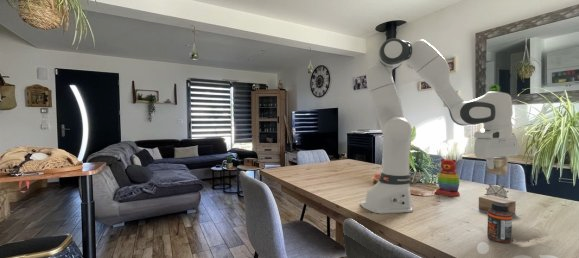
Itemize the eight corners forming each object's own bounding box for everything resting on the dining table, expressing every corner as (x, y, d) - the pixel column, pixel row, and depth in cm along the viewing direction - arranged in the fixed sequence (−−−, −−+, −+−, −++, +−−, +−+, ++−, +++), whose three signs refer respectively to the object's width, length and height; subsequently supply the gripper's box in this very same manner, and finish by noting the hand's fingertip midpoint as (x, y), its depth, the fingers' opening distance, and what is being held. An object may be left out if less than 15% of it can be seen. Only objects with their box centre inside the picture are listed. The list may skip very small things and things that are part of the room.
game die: (501, 210, 117) (517, 197, 111) (482, 203, 119) (496, 189, 113) (496, 196, 124) (510, 182, 118) (477, 189, 126) (491, 175, 120)
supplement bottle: (482, 235, 84) (482, 201, 84) (499, 234, 85) (499, 200, 85) (498, 244, 78) (499, 207, 78) (516, 243, 79) (517, 206, 79)
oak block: (499, 175, 100) (499, 159, 99) (487, 173, 104) (487, 158, 104) (507, 174, 101) (507, 158, 101) (494, 172, 105) (495, 157, 105)
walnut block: (502, 216, 98) (503, 203, 97) (478, 208, 106) (478, 196, 106) (515, 214, 100) (515, 201, 100) (490, 206, 108) (490, 195, 108)
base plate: (502, 222, 95) (502, 218, 95) (470, 211, 107) (470, 208, 107) (524, 217, 99) (524, 214, 99) (491, 207, 111) (491, 205, 110)
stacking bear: (432, 193, 133) (433, 159, 132) (439, 190, 139) (439, 157, 139) (457, 198, 125) (457, 161, 124) (463, 194, 131) (463, 159, 131)
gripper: (506, 132, 108) (506, 165, 109) (471, 133, 102) (470, 168, 102) (524, 132, 102) (523, 167, 103) (487, 134, 96) (487, 171, 96)
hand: (497, 168), depth 102 cm, fingers closed on oak block, 4 cm apart
